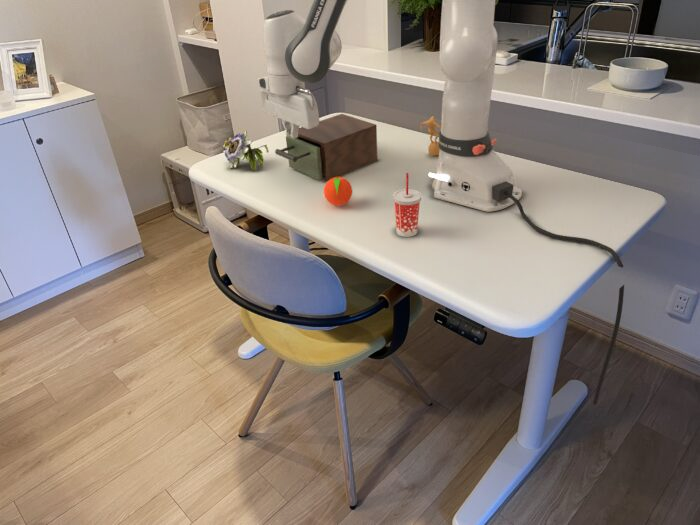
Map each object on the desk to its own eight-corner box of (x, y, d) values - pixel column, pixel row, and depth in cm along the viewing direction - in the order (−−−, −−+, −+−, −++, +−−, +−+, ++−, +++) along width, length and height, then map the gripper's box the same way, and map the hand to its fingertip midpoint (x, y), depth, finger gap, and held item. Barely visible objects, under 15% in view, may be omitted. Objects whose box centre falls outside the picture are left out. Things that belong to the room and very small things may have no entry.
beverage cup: (426, 230, 122) (428, 172, 114) (409, 241, 118) (409, 182, 110) (404, 222, 125) (404, 165, 118) (387, 232, 122) (386, 174, 114)
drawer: (301, 187, 142) (298, 155, 137) (272, 173, 150) (268, 142, 145) (367, 160, 154) (366, 130, 149) (336, 148, 163) (334, 120, 158)
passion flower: (236, 185, 160) (212, 150, 158) (265, 167, 165) (241, 133, 163) (248, 174, 150) (222, 137, 148) (278, 156, 155) (253, 119, 153)
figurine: (451, 155, 156) (453, 114, 149) (440, 163, 152) (442, 121, 146) (426, 150, 160) (427, 109, 154) (415, 157, 157) (415, 116, 150)
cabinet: (327, 181, 146) (324, 143, 140) (294, 166, 155) (290, 130, 150) (377, 160, 156) (376, 124, 150) (344, 148, 165) (341, 113, 159)
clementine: (352, 212, 131) (351, 185, 127) (324, 213, 131) (321, 186, 127) (353, 197, 137) (351, 170, 133) (325, 198, 138) (323, 172, 134)
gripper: (323, 88, 129) (327, 143, 137) (273, 73, 142) (279, 125, 150) (302, 94, 126) (307, 150, 134) (253, 78, 139) (260, 131, 147)
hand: (292, 137), depth 142 cm, fingers closed
